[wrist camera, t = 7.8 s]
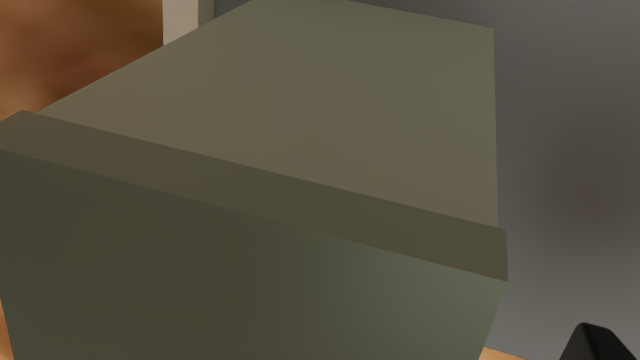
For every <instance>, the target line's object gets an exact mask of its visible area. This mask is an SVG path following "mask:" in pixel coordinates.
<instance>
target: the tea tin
mask: <svg viewBox="0 0 640 360" xmlns="http://www.w3.org/2000/svg"><path fill="white" fill-rule="evenodd" d="M507 285H508V263H507V240H506V230H505V229H501V228H498V202H497V157H496V111H495V66H494V28H492V27H487V26H481V25H476V24H471V23H465V22H460V21H455V20H449V19H444V18H439V17H433V16H428V15H423V14H417V13H412V12H407V11H401V10H396V9H391V8H386V7H380V6H375V5H370V4H364V3H359V2H354V1H348V0H250V1H248V2H246V3H245V4H243V5H241V6H239V7H237V8H235V9H233V10H231V11H229V12H227V13H225V14H223V15H221V16H220V17H218V18H216V19H214V20H212V21H210V22H208V23H206V24H204V25H202V26H200V27H198V28H196V29H195V30H193V31H191V32H189V33H187V34H185V35H183V36H181V37H179V38H177V39H175V40H173V41H171V42H170V43H168V44H166V45H164V46H162V47H160V48H158V49H156V50H154V51H152V52H150V53H148V54H146V55H145V56H143V57H141V58H139V59H137V60H135V61H133V62H131V63H129V64H127V65H125V66H123V67H121V68H120V69H118V70H116V71H114V72H112V73H110V74H108V75H106V76H104V77H102V78H100V79H98V80H96V81H95V82H93V83H91V84H89V85H87V86H85V87H83V88H81V89H79V90H77V91H75V92H73V93H71V94H70V95H68V96H66V97H64V98H62V99H60V100H58V101H56V102H54V103H52V104H50V105H48V106H46V107H45V108H43V109H41V110H39V111H37V112H35V113H31V112H27V111H23V110H22V111H20V112H18V113H16V114H14V115H12V116H10V117H8V118H6V119H4V120H2V121H0V298H1V303H2V307H3V311H4V316H5V320H6V325H7V329H8V333H9V338H10V342H11V346H12V351H13V355H14V360H478V359H479V357H480V354H481V352H482V349H483V346H484V344H485V341H486V339H487V336H488V334H489V331H490V328H491V326H492V323H493V321H494V318H495V315H496V313H497V310H498V308H499V305H500V303H501V300H502V297H503V295H504V292H505V290H506V287H507Z"/></svg>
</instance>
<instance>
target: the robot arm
mask: <svg viewBox="0 0 640 360" xmlns="http://www.w3.org/2000/svg"><path fill="white" fill-rule="evenodd" d="M559 360H637V359H636V357H635V356H634V355H633V354H632V353H631V352H630V351H629V349H628V348H627V347H626V346H625V345H624V344H623V343H622V341H621V340H620V339H619V338H618V337H617V336H616V335H615V334H614V333H613V332H612V331H611V330H610V329H608V328H605V327H601V326H598V325H594V324H590V323H587V322H582V323H579V324H578V325H577V326H576V327H575V329H574V331H573V333H572V335H571V337H570V339H569V341H568V343H567V345H566V347H565V349H564V351H563V353H562V355H561V357H560V359H559Z"/></svg>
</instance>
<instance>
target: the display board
mask: <svg viewBox="0 0 640 360" xmlns="http://www.w3.org/2000/svg"><path fill="white" fill-rule="evenodd" d="M248 1H250V0H163V38H162V46H164V45H166V44H168V43H170V42H171V41H173V40H175V39H177V38H179V37H181V36H183V35H185V34H187V33H189V32H191V31H193V30H195V29H196V28H198V27H200V26H202V25H204V24H206V23H208V22H210V21H212V20H214V19H216V18H218V17H220V16H221V15H223V14H225V13H227V12H229V11H231V10H233V9H235V8H237V7H239V6H241V5H243V4H245V3H246V2H248ZM348 1H354V2H359V3H364V4H370V5H375V6H380V7H386V8H391V9H396V10H401V11H407V12H412V13H417V14H423V15H428V16H433V17H439V18H444V19H449V20H455V21H460V22H465V23H471V24H476V25H481V26H487V27H492V28H494V66H495V111H496V157H497V202H498V228H501V229H505V230H506V240H507V263H508V285H507V287H506V290H505V292H504V295H503V297H502V300H501V303H500V305H499V308H498V310H497V313H496V315H495V318H494V321H493V323H492V326H491V328H490V331H489V334H488V336H487V339H486V341H485V344H484V346H483V347H487V348H490V349H493V350H497V351H500V352H504V353H507V354H511V355H514V356H518V357H521V358H525V359H528V360H559V359H560V357H561V355H562V353H563V351H564V349H565V347H566V345H567V343H568V341H569V339H570V337H571V335H572V333H573V331H574V329H575V327H576V326H577V325H578V324H579V323H582V322H587V323H590V324H594V325H598V326H601V327H605V328H608V329H610V330H611V331H612V332H613V333H614V334H615V335H616V336H617V337H618V338H619V339H620V340H621V341H622V343H623V344H624V345H625V346H626V347H627V348H628V349H629V351H630V352H631V353H632V354H633V355H634V356H635V357H636V359H637V360H640V0H348Z"/></svg>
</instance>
